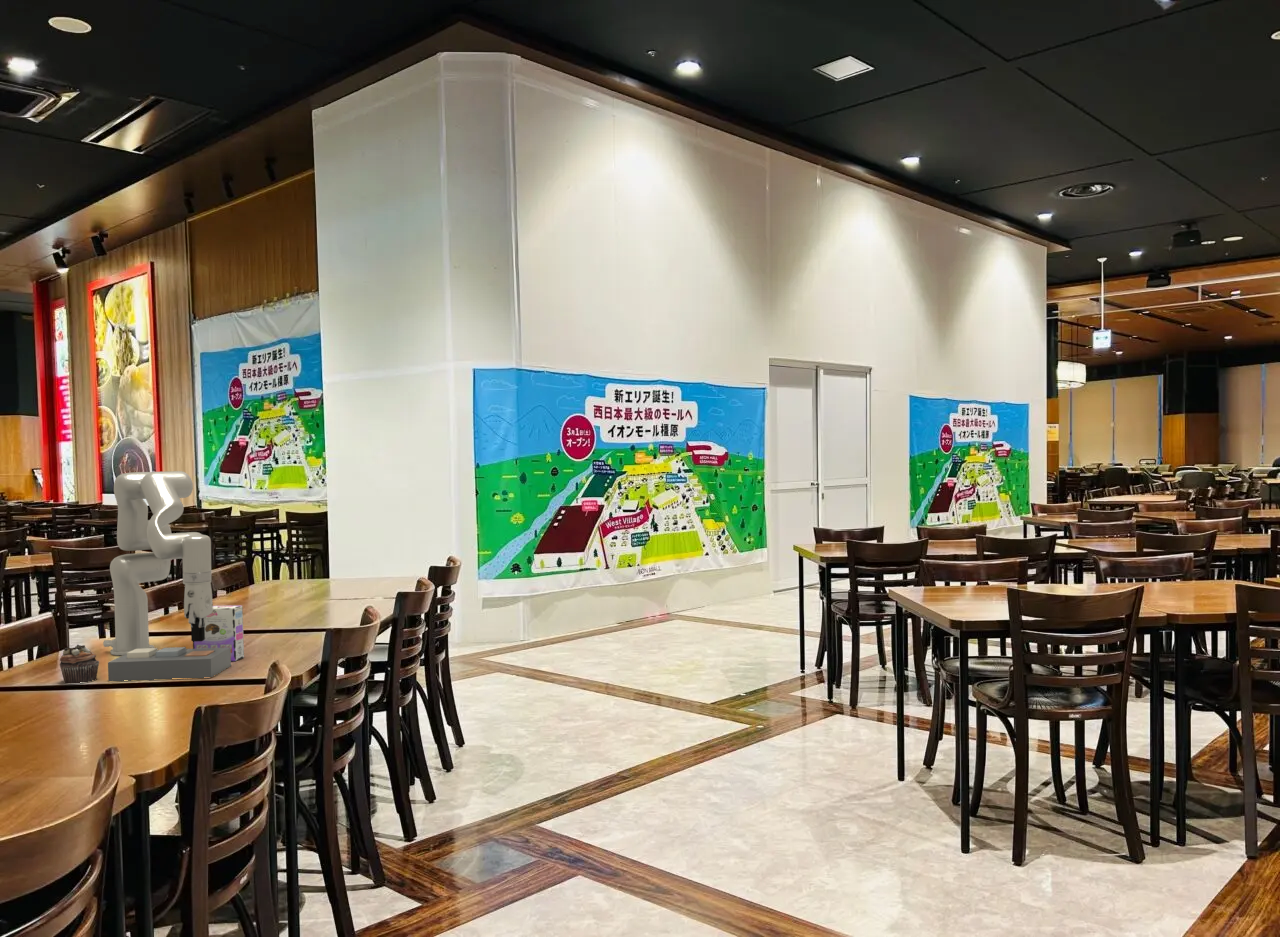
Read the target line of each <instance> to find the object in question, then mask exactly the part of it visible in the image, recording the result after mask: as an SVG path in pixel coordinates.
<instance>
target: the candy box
mask: <svg viewBox="0 0 1280 937" xmlns="http://www.w3.org/2000/svg"><path fill="white" fill-rule="evenodd" d="M243 609H244V608H243V605H213V612H212V613H211V614H210V615H208V616H206V618H205V626H203V627H205V640H203V641H192V649H200V648H230V647H231V662H236V661H239V660H241V659H244V658H245V647H244V646H245V644H244V643H245V642H244V619H243V618H244V614H243V611H244V610H243Z"/></svg>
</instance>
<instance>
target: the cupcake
mask: <svg viewBox="0 0 1280 937" xmlns="http://www.w3.org/2000/svg"><path fill="white" fill-rule="evenodd" d="M96 656H97V655H96V653H94V652H92V651H91V650H90V649H89V648H88V647H86V645H80V644H76V645H75V646H74V647H64V648H63V651H62V656H61V657H60V658H59V662H60V663H59V667H60V672H61V675H62V678H63V682H65V683H80V682H87V683H89V682H88V681H91V682H93V681H92V680H94V681H96V680H97V678H98V671H99V664H100V661H99V660H97V659H96ZM95 679H96V680H95ZM65 683H64V684H65ZM80 684H81V683H80Z"/></svg>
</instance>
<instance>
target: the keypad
mask: <svg viewBox="0 0 1280 937" xmlns="http://www.w3.org/2000/svg"><path fill="white" fill-rule="evenodd" d="M159 650H160V649H158V651H159ZM192 651H214V652H213V653H211V654H209V655H207V656H185V655H187V654H189V653H190V652H192ZM231 666H232V661H231V647H230V648H200V649H193V648H186V653H184V654H182V655H181V656H179V657H156V655H154V656H152V657H150V658H127V654H125V655H120V656H119V657H116V658H114V659H112V660H110V661H108V662H107V678H108V680H107V681H121V682H125V681H124V680H128V681H127V682H132V681H131V680H149V681H155V680H154V679H172V678H204V677H213V676H214V675H216V674H217V675H219V674H221V673H222V672H224V671H225V670H227V669H228V668H230V667H231ZM226 668H227V669H226ZM223 670H224V671H223ZM221 671H222V672H221ZM218 673H219V674H218ZM217 675H216V676H217ZM214 677H215V676H214ZM214 677H213V678H214Z"/></svg>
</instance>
